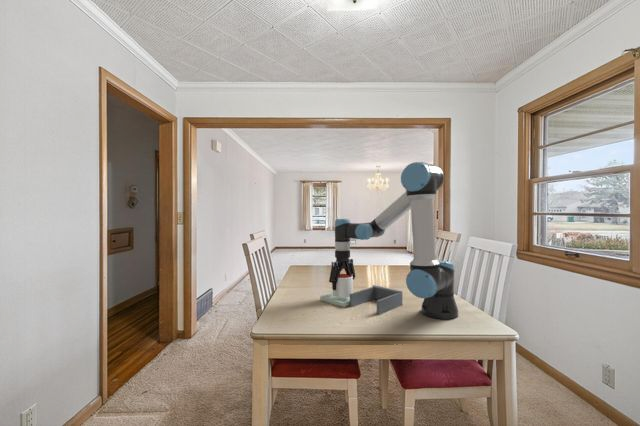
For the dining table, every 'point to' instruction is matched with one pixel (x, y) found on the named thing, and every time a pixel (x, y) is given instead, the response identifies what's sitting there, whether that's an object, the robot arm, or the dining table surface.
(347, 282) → the cup
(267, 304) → the dining table surface
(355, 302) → the bay
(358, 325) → the dining table surface
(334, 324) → the dining table surface
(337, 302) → the tray
